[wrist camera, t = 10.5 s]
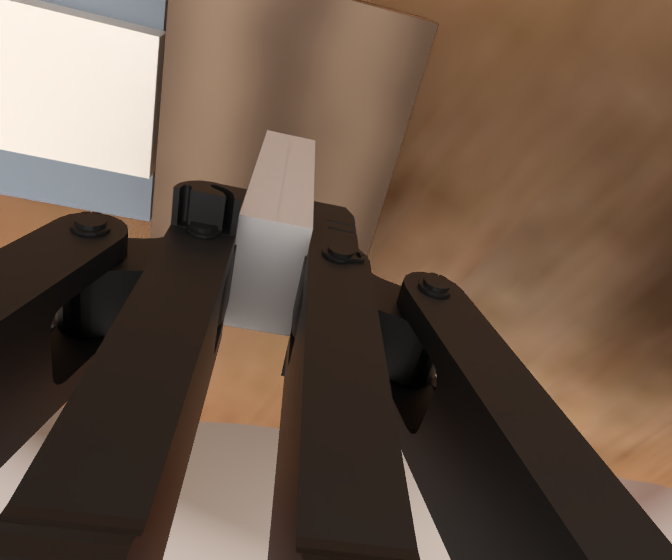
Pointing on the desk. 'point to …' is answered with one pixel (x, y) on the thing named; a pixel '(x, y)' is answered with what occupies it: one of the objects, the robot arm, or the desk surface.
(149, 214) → the mat
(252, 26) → the deck
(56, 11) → the tile
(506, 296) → the desk surface
